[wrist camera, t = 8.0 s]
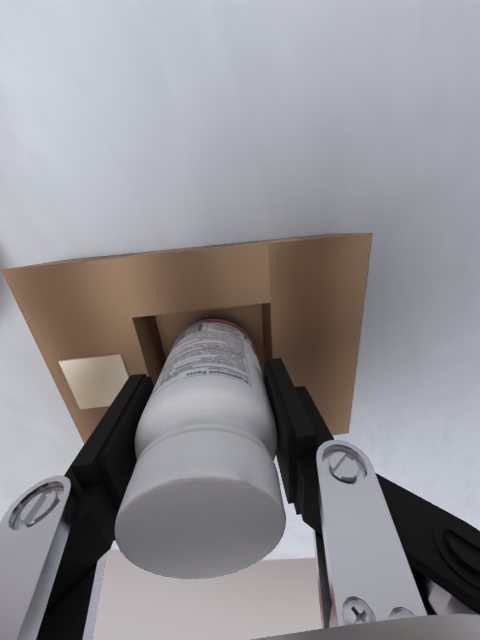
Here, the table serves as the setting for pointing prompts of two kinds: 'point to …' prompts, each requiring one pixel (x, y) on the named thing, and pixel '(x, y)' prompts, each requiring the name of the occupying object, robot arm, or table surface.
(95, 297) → the brown flat recessed slab
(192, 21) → the table surface
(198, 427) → the pill bottle
